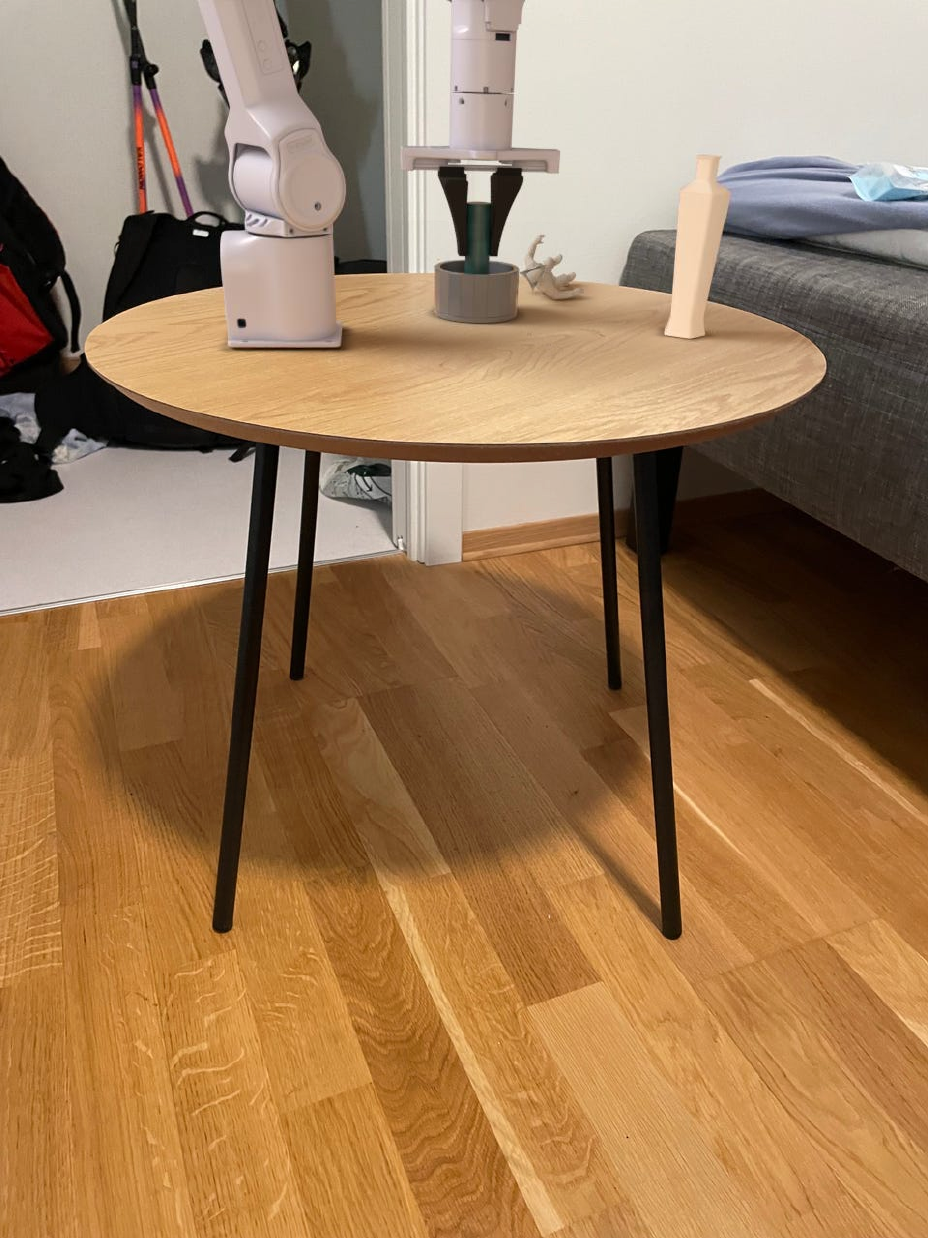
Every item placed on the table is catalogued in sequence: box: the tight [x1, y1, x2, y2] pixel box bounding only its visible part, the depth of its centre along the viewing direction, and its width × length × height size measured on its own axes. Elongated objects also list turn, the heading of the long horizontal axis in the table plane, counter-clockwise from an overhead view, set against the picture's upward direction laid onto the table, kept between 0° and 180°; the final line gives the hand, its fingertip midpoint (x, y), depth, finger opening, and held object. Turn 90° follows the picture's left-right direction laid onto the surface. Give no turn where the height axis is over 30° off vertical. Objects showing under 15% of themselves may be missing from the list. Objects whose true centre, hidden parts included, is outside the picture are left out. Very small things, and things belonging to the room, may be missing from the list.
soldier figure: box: [519, 234, 585, 300], centre depth 101 cm, size 8×5×12 cm
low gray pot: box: [433, 259, 520, 324], centre depth 92 cm, size 8×8×4 cm
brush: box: [458, 201, 492, 274], centre depth 90 cm, size 3×3×9 cm
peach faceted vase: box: [664, 154, 732, 339], centre depth 84 cm, size 5×4×15 cm
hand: (477, 254), depth 90 cm, fingers closed on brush, 2 cm apart
